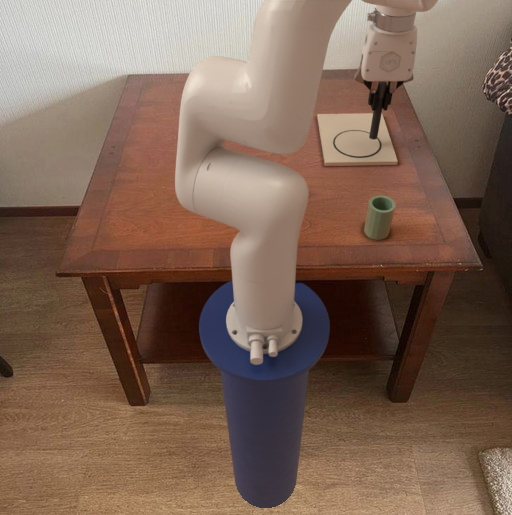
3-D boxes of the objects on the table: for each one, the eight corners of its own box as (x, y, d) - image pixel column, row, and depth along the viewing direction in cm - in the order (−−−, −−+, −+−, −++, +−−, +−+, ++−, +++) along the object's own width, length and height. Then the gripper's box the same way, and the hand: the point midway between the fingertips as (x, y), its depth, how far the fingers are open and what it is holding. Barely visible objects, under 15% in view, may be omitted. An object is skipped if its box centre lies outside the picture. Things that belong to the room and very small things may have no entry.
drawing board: (397, 165, 112) (398, 160, 112) (324, 166, 113) (325, 161, 112) (381, 116, 126) (382, 112, 125) (317, 117, 126) (317, 113, 126)
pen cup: (391, 239, 97) (398, 212, 91) (365, 240, 97) (371, 212, 92) (386, 222, 100) (393, 195, 95) (362, 222, 100) (367, 195, 95)
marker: (377, 139, 114) (387, 84, 105) (369, 139, 114) (379, 84, 105) (376, 135, 115) (386, 80, 106) (368, 135, 115) (377, 80, 106)
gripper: (355, 28, 94) (343, 117, 107) (440, 27, 94) (418, 116, 107) (349, 12, 99) (339, 99, 112) (431, 11, 99) (411, 98, 112)
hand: (378, 106), depth 109 cm, fingers closed on marker, 1 cm apart
